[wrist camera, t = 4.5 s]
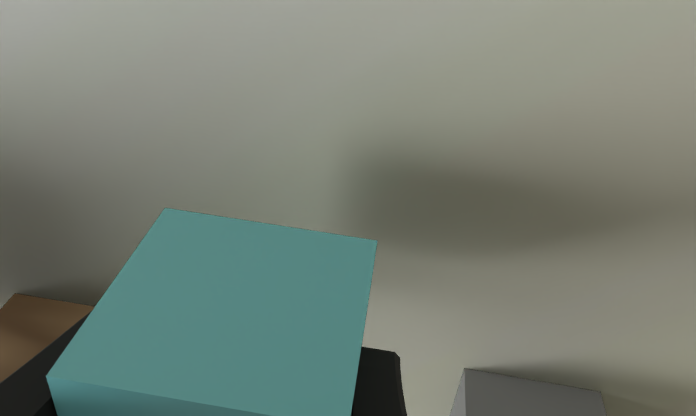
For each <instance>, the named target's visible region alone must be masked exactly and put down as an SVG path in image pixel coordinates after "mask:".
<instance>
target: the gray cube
mask: <svg viewBox="0 0 696 416" xmlns="http://www.w3.org/2000/svg"><path fill="white" fill-rule="evenodd" d="M450 416H607V415H606V411H605V407H604V403H603V400H602V396H601V392H599V391H593V390H587V389H581V388H576V387H570V386H564V385H558V384H552V383H547V382H541V381H535V380H529V379H523V378H518V377H512V376H506V375H500V374H494V373H489V372H483V371H477V370H471V369H465V368H464V371H463V374H462V377H461V380H460V384H459V387H458V390H457V393H456V397H455V400H454V403H453V406H452V409H451V413H450Z"/></svg>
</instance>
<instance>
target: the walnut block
mask: <svg viewBox="0 0 696 416" xmlns="http://www.w3.org/2000/svg"><path fill="white" fill-rule="evenodd" d="M94 307H95V306H89V305H83V304H77V303H71V302H64V301H58V300H52V299H46V298H40V297H34V296H28V295H22V294H16V293H15V294H14V295H13V296H12V297H11V298H10V299H9V300H8V301H7V303H6V304H5V305H4V306H3V307H2V308H1V309H0V383H1V382H2V381H3V380H4V379H6V378H7V377H8V376H10V375H11V374H12V373H14V372H15V371H16V370H17V369H19V368H20V367H21V366H23V365H24V364H25V363H27V362H28V361H29V360H30V359H32V358H33V357H34V356H35V355H37V354H38V353H39V352H40V351H42V350H43V349H44V348H45V347H47V346H48V345H49V344H50V343H52V342H53V341H54V340H55V339H57V338H58V337H59V336H60V335H62V334H63V333H64V332H65V331H67V330H68V329H69V328H70V327H72V326H73V325H74V324H75V323H77V322H78V321H79V320H80V319H82V318H83V317H84V316H85V315H87V314H88V313H89V312H90V311H92V310H93V309H94Z"/></svg>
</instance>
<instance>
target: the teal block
mask: <svg viewBox="0 0 696 416" xmlns="http://www.w3.org/2000/svg"><path fill="white" fill-rule="evenodd" d="M376 247H377V241H376V240H370V239H364V238H357V237H351V236H344V235H338V234H331V233H325V232H318V231H312V230H305V229H299V228H292V227H286V226H280V225H273V224H267V223H260V222H254V221H247V220H241V219H234V218H228V217H221V216H215V215H208V214H202V213H196V212H189V211H183V210H176V209H170V208H164V210H163V211H162V213H161V214H160V216H159V217H158V218H157V220H156V221H155V223H154V224H153V225H152V227H151V228H150V230H149V231H148V233H147V234H146V235H145V237H144V238H143V240H142V241H141V242H140V244H139V245H138V247H137V248H136V249H135V251H134V252H133V254H132V255H131V257H130V258H129V259H128V261H127V262H126V264H125V265H124V266H123V268H122V269H121V271H120V272H119V274H118V275H117V276H116V278H115V279H114V281H113V282H112V283H111V285H110V286H109V288H108V289H107V291H106V292H105V293H104V295H103V296H102V298H101V299H100V300H99V302H98V303H97V305H96V306H95V307H94V309H93V310H92V312H91V313H90V315H89V316H88V317H87V319H86V320H85V322H84V323H83V324H82V326H81V327H80V329H79V330H78V332H77V333H76V334H75V336H74V337H73V339H72V340H71V341H70V343H69V344H68V346H67V347H66V348H65V350H64V351H63V353H62V354H61V356H60V357H59V358H58V360H57V361H56V363H55V364H54V365H53V367H52V368H51V370H50V371H49V373H48V374H47V375H46V378H47V382H48V385H49V388H50V392H51V395H52V398H53V402H54V405H55V409H56V412H57V415H58V416H351V411H352V404H353V398H354V391H355V385H356V378H357V372H358V365H359V359H360V352H361V347H362V340H363V333H364V327H365V320H366V314H367V307H368V300H369V294H370V287H371V281H372V274H373V267H374V261H375V254H376Z"/></svg>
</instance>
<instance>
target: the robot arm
mask: <svg viewBox="0 0 696 416" xmlns="http://www.w3.org/2000/svg"><path fill="white" fill-rule="evenodd" d="M91 312H92V311H90V312H89V313H88V314H87V315H85V316H84V317H83V318H82V319H80V320H79V321H78V322H77V323H75V324H74V325H73V326H72V327H70V328H69V329H68V330H67V331H65V332H64V333H63V334H62V335H60V336H59V337H58V338H57V339H55V340H54V341H53V342H52V343H50V344H49V345H48V346H47V347H45V348H44V349H43V350H42V351H40V352H39V353H38V354H37V355H35V356H34V357H33V358H32V359H30V360H29V361H28V362H27V363H25V364H24V365H23V366H21V367H20V368H19V369H17V370H16V371H15V372H14V373H12V374H11V375H10V376H8V377H7V378H6V379H4V380H3V381H2V382H1V383H0V416H58V415H57V412H56V409H55V405H54V402H53V398H52V395H51V392H50V388H49V385H48V382H47V378H46V375H47V374H48V373H49V371H50V370H51V368H52V367H53V365H54V364H55V363H56V361H57V360H58V358H59V357H60V356H61V354H62V353H63V351H64V350H65V348H66V347H67V346H68V344H69V343H70V341H71V340H72V339H73V337H74V336H75V334H76V333H77V332H78V330H79V329H80V327H81V326H82V324H83V323H84V322H85V320H86V319H87V317H88V316H89V315H90V313H91ZM351 416H407V413H406V407H405V402H404V396H403V389H402V382H401V371H400V357H399V356H398V355H397V354H396V353H395V352H391V351H385V350H379V349H373V348H366V347H361V352H360V359H359V365H358V372H357V378H356V385H355V391H354V398H353V404H352V411H351Z"/></svg>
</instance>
